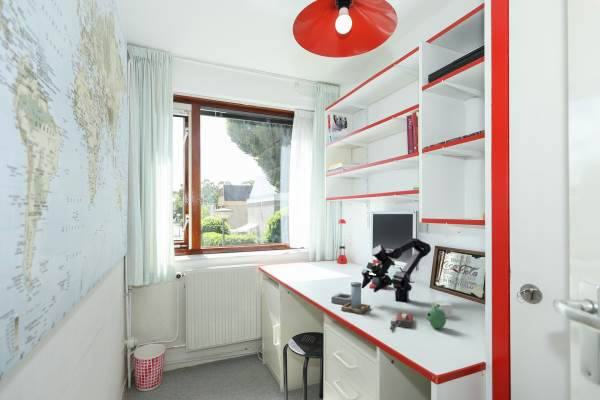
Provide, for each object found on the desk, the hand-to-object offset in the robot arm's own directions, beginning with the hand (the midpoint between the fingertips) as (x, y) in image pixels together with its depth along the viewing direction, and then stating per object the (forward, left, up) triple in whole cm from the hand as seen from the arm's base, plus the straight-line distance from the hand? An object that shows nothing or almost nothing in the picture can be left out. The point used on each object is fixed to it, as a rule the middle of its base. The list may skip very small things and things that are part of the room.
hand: (367, 289), depth 168 cm
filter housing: (+15, -2, -9) cm, 17 cm away
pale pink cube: (-34, -8, -9) cm, 36 cm away
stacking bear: (+11, -45, -9) cm, 47 cm away
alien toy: (-35, +11, -9) cm, 38 cm away
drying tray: (+4, +7, -9) cm, 12 cm away
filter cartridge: (+4, +7, -8) cm, 12 cm away
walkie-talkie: (-22, +16, -10) cm, 29 cm away
